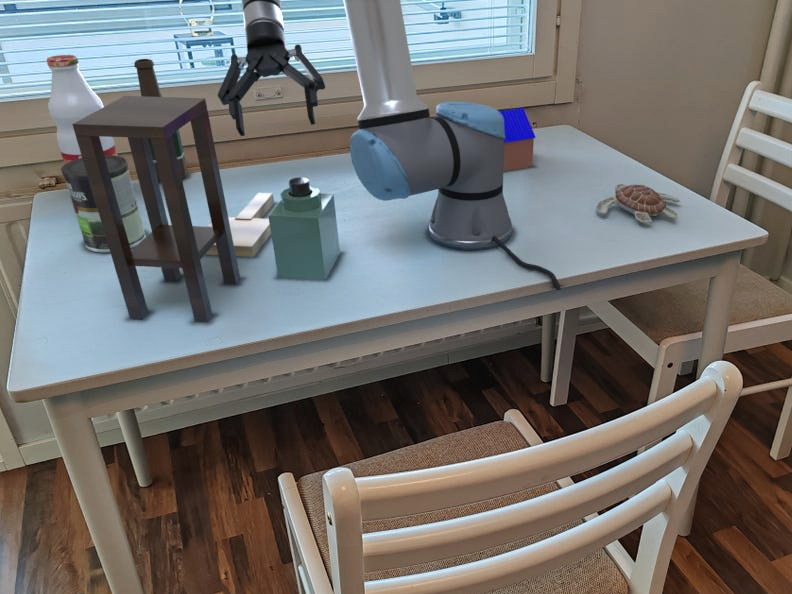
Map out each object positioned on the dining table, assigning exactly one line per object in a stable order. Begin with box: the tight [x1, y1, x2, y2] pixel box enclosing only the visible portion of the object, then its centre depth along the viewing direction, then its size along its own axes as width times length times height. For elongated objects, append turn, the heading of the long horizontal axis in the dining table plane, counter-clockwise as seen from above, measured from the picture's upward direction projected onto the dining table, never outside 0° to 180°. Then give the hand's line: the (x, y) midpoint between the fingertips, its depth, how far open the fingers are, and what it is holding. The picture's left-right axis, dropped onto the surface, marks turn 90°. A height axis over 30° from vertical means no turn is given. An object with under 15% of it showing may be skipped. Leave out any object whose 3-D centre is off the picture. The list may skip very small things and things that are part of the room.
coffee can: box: [60, 155, 147, 254], centre depth 129 cm, size 10×10×14 cm
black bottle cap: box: [288, 176, 311, 197], centre depth 118 cm, size 3×3×2 cm
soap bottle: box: [267, 185, 341, 281], centre depth 122 cm, size 10×8×13 cm
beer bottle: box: [133, 58, 188, 183], centre depth 154 cm, size 8×8×24 cm
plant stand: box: [72, 95, 241, 323], centre depth 108 cm, size 14×12×29 cm
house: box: [498, 107, 536, 173], centre depth 165 cm, size 12×20×12 cm, turn 117°
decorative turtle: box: [595, 183, 681, 224], centre depth 145 cm, size 18×17×5 cm
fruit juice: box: [46, 54, 118, 165], centre depth 138 cm, size 9×9×28 cm
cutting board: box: [204, 192, 275, 258], centre depth 138 cm, size 24×11×2 cm, turn 175°
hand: (276, 126), depth 140 cm, fingers open, 13 cm apart
